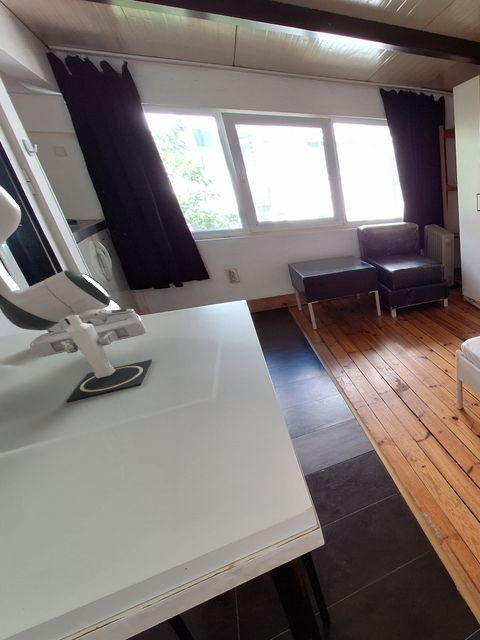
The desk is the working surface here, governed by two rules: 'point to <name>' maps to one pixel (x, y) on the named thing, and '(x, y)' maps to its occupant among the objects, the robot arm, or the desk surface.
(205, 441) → the desk surface
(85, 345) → the perfume bottle
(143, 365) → the circle mat
